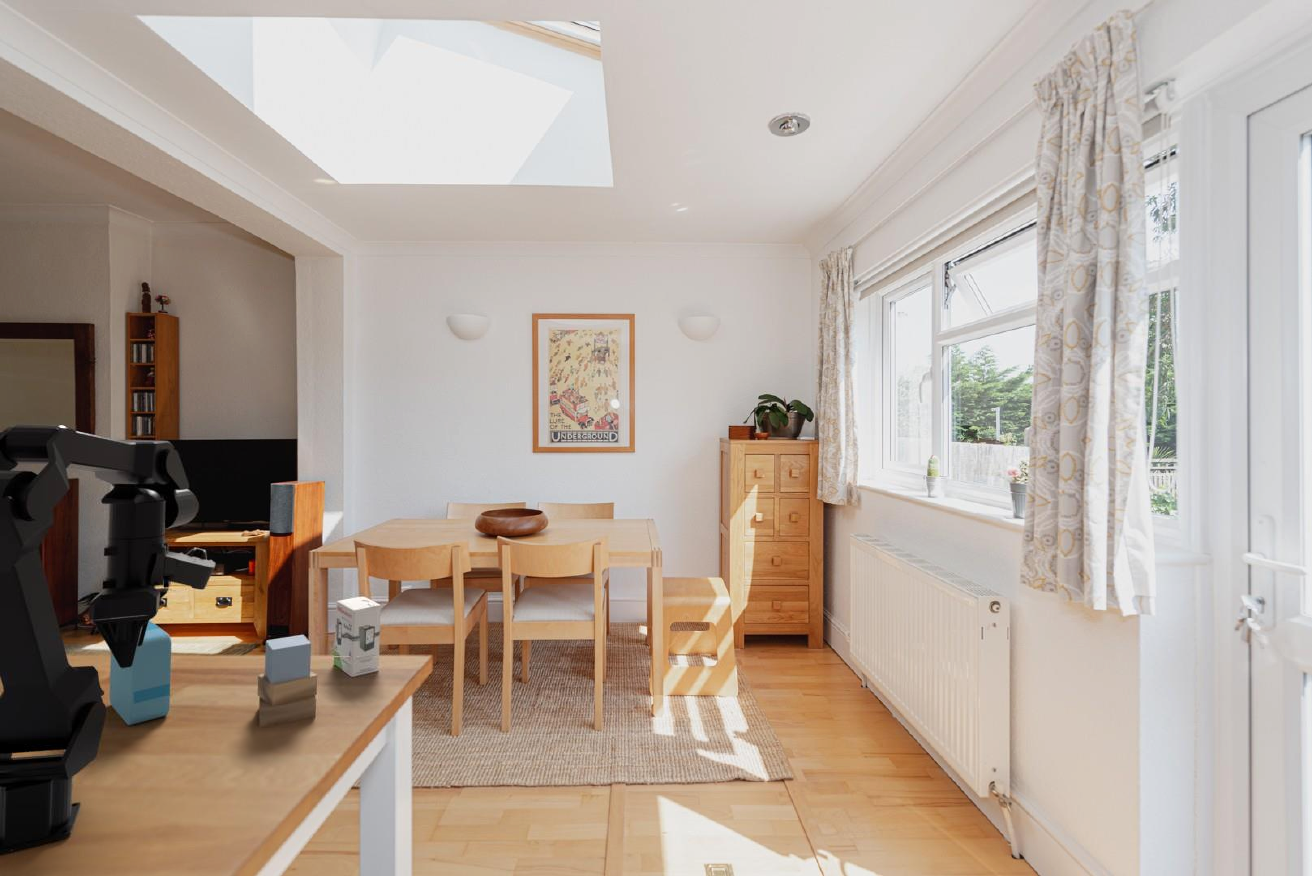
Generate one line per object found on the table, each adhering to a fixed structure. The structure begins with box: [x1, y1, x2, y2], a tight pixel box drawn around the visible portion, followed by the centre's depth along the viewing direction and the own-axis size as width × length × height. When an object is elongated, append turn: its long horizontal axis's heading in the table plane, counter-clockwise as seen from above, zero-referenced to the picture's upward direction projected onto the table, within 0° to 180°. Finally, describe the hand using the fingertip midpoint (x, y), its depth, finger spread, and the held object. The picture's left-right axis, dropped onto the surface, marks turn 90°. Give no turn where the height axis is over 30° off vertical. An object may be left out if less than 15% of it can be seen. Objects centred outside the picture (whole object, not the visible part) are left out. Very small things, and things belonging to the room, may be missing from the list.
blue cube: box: [264, 634, 312, 684], centre depth 94 cm, size 5×5×5 cm
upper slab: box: [257, 670, 318, 707], centre depth 94 cm, size 6×6×3 cm
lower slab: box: [258, 695, 317, 728], centre depth 94 cm, size 7×7×3 cm
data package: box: [109, 620, 172, 726], centre depth 93 cm, size 12×4×12 cm, turn 52°
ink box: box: [333, 596, 382, 678], centre depth 113 cm, size 9×5×12 cm, turn 47°
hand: (131, 656), depth 82 cm, fingers open, 9 cm apart
